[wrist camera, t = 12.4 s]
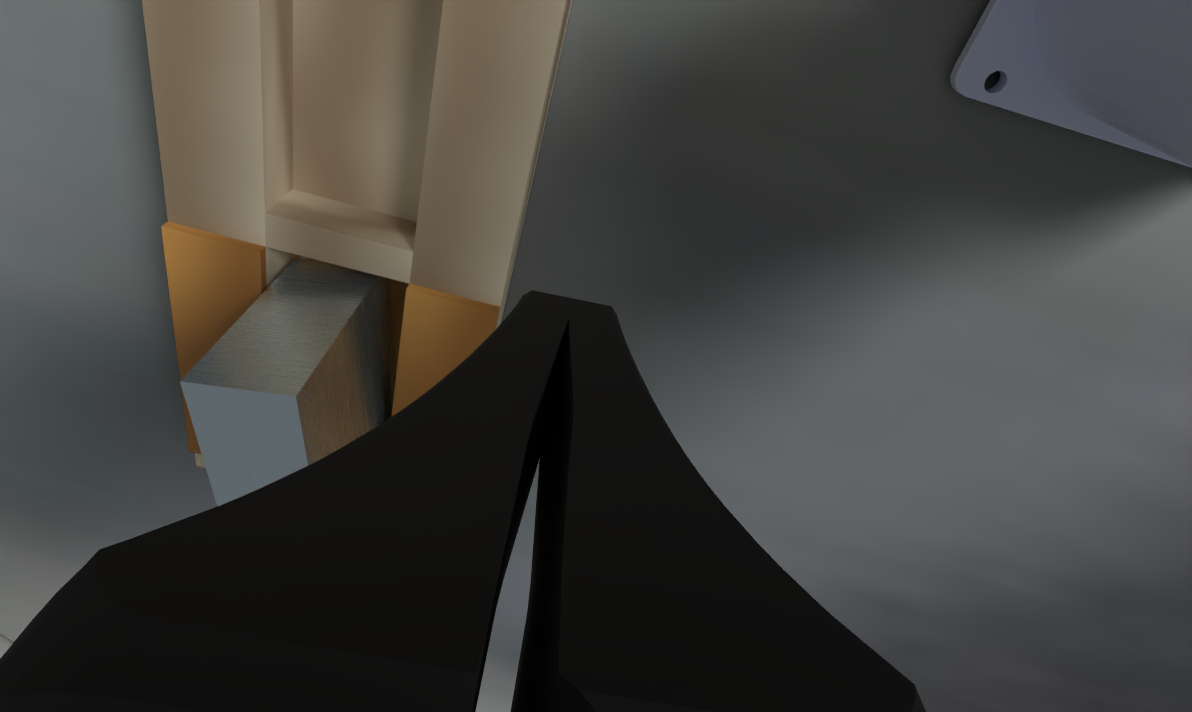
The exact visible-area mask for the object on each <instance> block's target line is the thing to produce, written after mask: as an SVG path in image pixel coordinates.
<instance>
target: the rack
mask: <svg viewBox="0 0 1192 712" xmlns="http://www.w3.org/2000/svg"><path fill="white" fill-rule="evenodd" d="M572 1H573V0H142V6H143V14H144V23H145V31H146V40H147V48H148V57H149V65H150V74H151V82H152V91H153V100H154V108H155V117H156V125H157V134H158V142H159V151H160V159H161V168H162V176H163V185H164V193H165V202H166V210H167V219H168V222H167V223H165V224H164V225H162V226H161V229H162V237H163V246H164V254H165V262H166V270H167V278H168V286H169V294H170V302H171V310H172V318H173V326H174V334H175V342H176V350H177V358H178V366H179V375H180V381H181V380H182V379H183V377H184V376H185V375H186V374H187V373H188V372H189V371H190V370H191V369H192V368H193V367H194V366H195V365H196V364H197V363H198V362H199V360H200V359H201V358H202V357H203V356H204V355H205V354H206V353H207V352H208V351H209V350H210V349H211V348H212V347H213V346H214V345H215V343H216V342H217V341H218V340H219V339H220V338H221V337H222V336H223V335H224V334H225V333H226V332H227V331H228V330H229V329H230V328H231V326H232V325H233V324H234V323H235V322H236V321H237V320H238V319H239V318H240V317H241V316H242V315H243V314H244V313H245V312H246V311H247V309H248V308H249V307H250V306H251V305H252V304H253V303H254V302H255V301H256V300H257V299H258V298H259V297H260V296H261V295H262V294H263V292H264V291H265V290H266V289H267V288H268V287H269V286H270V285H271V284H272V283H273V282H274V281H275V280H276V279H277V278H278V277H279V275H280V274H281V273H282V272H283V271H284V270H285V269H286V268H287V267H288V266H289V265H290V264H291V263H292V262H293V261H294V260H295V258H296V257H297V256H298V255H300V256H304V257H308V258H312V259H315V260H319V261H323V262H327V263H331V264H335V265H339V266H343V267H347V268H351V269H354V270H358V271H362V272H366V273H370V274H374V275H378V276H382V277H386V278H390V284H391V301H392V317H393V334H394V350H395V366H396V382H395V391H394V399H393V408H392V416H393V415H395V414H396V413H398V412H399V411H401V410H402V409H404V408H405V407H407V406H408V405H409V404H411V403H412V402H414V401H415V400H416V399H418V398H419V397H420V396H422V395H423V394H424V393H426V392H427V391H428V390H430V389H431V388H432V387H433V386H435V385H436V384H437V383H438V382H439V381H440V380H442V379H443V378H444V377H445V376H446V375H448V374H449V373H450V372H451V371H452V370H454V369H455V368H456V367H457V366H458V365H459V364H461V363H462V362H463V361H464V360H465V359H466V358H467V357H469V356H470V355H471V354H472V353H473V352H474V351H475V350H476V349H477V348H478V347H479V346H480V345H481V344H482V343H483V342H484V341H485V340H486V339H487V338H488V337H489V336H490V335H491V334H492V333H493V332H494V331H495V330H496V329H497V328H498V327H499V325H500V324H501V323H502V319H503V314H504V309H505V305H506V300H507V296H508V291H509V287H510V282H511V278H512V273H513V269H514V264H515V260H516V255H517V251H518V246H519V242H520V237H521V232H522V228H523V223H524V219H525V214H526V210H527V205H528V201H529V196H530V192H531V187H532V183H533V178H534V174H535V169H536V164H537V160H538V155H539V151H540V146H541V142H542V137H543V133H544V128H545V124H546V119H547V115H548V110H549V106H550V101H551V96H552V92H553V87H554V83H555V78H556V74H557V69H558V65H559V60H560V56H561V51H562V47H563V42H564V38H565V33H566V28H567V24H568V19H569V15H570V10H571V6H572ZM181 391H182V399H183V407H184V415H185V423H186V431H187V439H188V447H189V452H193V453H195V458H196V466H199V467H203V468H206V467H205V464H204V460H203V457H202V454H201V450H200V447H199V444H198V440H197V437H196V433H195V430H194V427H193V423H192V420H191V417H190V413H189V410H188V407H187V403H186V400H185V397H184V393H183V390H182V387H181ZM392 416H391V417H392Z"/></svg>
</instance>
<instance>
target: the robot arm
mask: <svg viewBox="0 0 1192 712" xmlns="http://www.w3.org/2000/svg"><path fill="white" fill-rule="evenodd" d="M996 71H1000V79H999V82H998V83H997V84H996V85H995V86H994V87H992V88H990V89H988V90H985V87H984V84H985V80H986V78H987V77H988V76H989V75H990V74H991V73H993V72H996ZM950 79H951V85H952V87H953V89H954V90H955V91H957V92H958V93H960V94H962V95H963V96H965V97H968V98H971V99H974V100H978V101H981V102H984V103H987V104H990V105H994V106H997V107H1000V108H1003V109H1006V110H1009V111H1013V112H1016V113H1019V114H1022V115H1025V116H1029V117H1032V118H1035V119H1038V120H1041V121H1044V122H1048V123H1051V124H1054V125H1057V126H1060V127H1064V128H1067V129H1070V130H1073V131H1076V132H1079V133H1083V134H1086V135H1089V136H1092V137H1095V138H1099V139H1102V140H1105V141H1108V142H1111V143H1115V144H1118V145H1121V146H1124V147H1127V148H1130V149H1134V150H1137V151H1140V152H1143V153H1146V154H1150V155H1153V156H1156V157H1159V158H1162V159H1165V160H1169V161H1172V162H1175V163H1178V164H1181V165H1185V166H1188V167H1191V168H1192V0H990V1H989V3H988V5H987V7H986V9H985V11H984V12H983V14H982V16H981V18H980V20H979V22H978V23H977V25H976V27H975V29H974V31H973V32H972V34H971V36H970V38H969V40H968V42H967V43H966V45H965V47H964V49H963V51H962V53H961V54H960V56H959V58H958V60H957V62H956V63H955V65H954V67H953V70H952V73H951V75H950ZM539 458H540V462H539V475H538V489H537V502H536V516H535V530H534V544H533V558H532V572H531V585H530V594H529V602H528V611H527V618H526V624H525V630H524V636H523V642H522V648H521V654H520V660H519V666H518V672H517V678H516V684H515V690H514V695H513V701H512V707H511V712H926V711H925V708H924V706H923V704H922V701H921V699H920V697H919V694H918V692H917V690H916V687H915V685H914V684H913V683H912V682H911V681H910V680H908V679H907V678H906V677H905V676H904V675H902V674H901V673H900V672H899V671H898V670H896V669H895V668H894V667H893V666H892V665H890V664H889V663H888V662H887V661H886V660H884V659H883V658H882V657H881V656H880V655H878V654H877V653H876V652H875V651H874V650H873V649H871V648H870V647H869V646H868V645H867V644H865V643H864V642H863V641H862V640H861V639H859V638H858V637H857V636H856V635H855V634H853V633H852V632H851V631H850V630H849V629H847V628H846V627H845V626H844V625H843V624H841V623H840V622H839V621H838V620H837V619H835V618H834V617H833V616H832V615H831V614H830V613H829V612H828V611H826V610H825V609H824V608H823V607H822V606H821V605H820V604H819V603H818V602H817V601H816V600H815V599H814V598H813V597H811V596H810V595H809V594H808V593H807V592H806V591H805V590H804V589H803V588H802V587H801V586H800V585H799V584H798V583H797V582H796V581H795V580H794V579H793V578H792V577H791V576H789V575H788V574H787V573H786V572H785V571H784V570H783V569H782V568H781V567H780V566H779V565H778V564H777V563H776V562H775V561H774V560H773V559H772V558H771V556H770V555H769V554H768V553H767V552H766V551H765V550H764V549H763V548H762V547H761V546H760V545H759V544H758V543H757V542H756V541H755V540H754V539H753V537H752V536H751V535H750V534H749V533H748V532H747V531H746V530H745V528H744V527H743V526H742V525H741V524H740V523H739V522H738V521H737V519H736V518H735V517H734V516H733V515H732V514H731V513H730V512H729V510H728V509H727V508H726V507H725V506H724V505H723V503H722V502H721V501H720V500H719V498H718V497H717V496H716V495H715V494H714V492H713V491H712V490H711V489H710V487H709V486H708V485H707V483H706V482H705V481H704V479H703V478H702V477H701V475H700V474H699V473H698V471H697V470H696V468H695V467H694V466H693V464H692V463H691V461H690V460H689V458H688V457H687V456H686V454H685V453H684V451H683V450H682V448H681V446H680V445H679V443H678V442H677V440H676V439H675V437H674V435H673V434H672V432H671V430H670V429H669V427H668V425H667V424H666V422H665V420H664V419H663V417H662V415H661V413H660V412H659V410H658V408H657V406H656V404H655V402H654V401H653V399H652V397H651V395H650V393H649V391H648V389H647V387H646V385H645V383H644V381H643V379H642V377H641V375H640V373H639V371H638V369H637V366H636V364H635V362H634V360H633V358H632V355H631V353H630V350H629V348H628V346H627V343H626V341H625V338H624V336H623V333H622V330H621V327H620V324H619V321H618V318H617V314H616V313H615V311H614V310H613V308H612V307H611V306H607V305H602V304H597V303H592V302H587V301H582V300H577V299H572V298H567V297H562V296H557V295H552V294H547V293H542V292H538V291H533V290H532V291H530V292H528V293H526V294H525V295H523V297H522V298H521V300H520V301H519V303H518V304H517V305H516V307H515V308H514V309H513V310H512V312H511V313H510V314H509V315H508V316H507V318H506V319H505V320H504V321H503V322H502V323H501V324H500V325H499V327H498V328H497V329H496V330H495V331H494V332H493V333H492V334H491V335H490V336H489V337H488V338H487V339H486V340H485V341H484V342H483V343H482V344H481V345H480V346H479V347H478V348H477V349H476V350H475V351H474V352H473V353H472V354H471V355H470V356H469V357H467V358H466V359H465V360H464V361H463V362H462V363H461V364H459V365H458V366H457V367H456V368H455V369H454V370H452V371H451V372H450V373H449V374H448V375H446V376H445V377H444V378H443V379H442V380H440V381H439V382H438V383H437V384H436V385H435V386H433V387H432V388H431V389H430V390H428V391H427V392H426V393H424V394H423V395H422V396H420V397H419V398H418V399H416V400H415V401H414V402H412V403H411V404H409V405H408V406H407V407H405V408H404V409H402V410H401V411H399V412H398V413H396V414H395V415H393V416H392V417H390V418H389V419H387V420H386V421H385V422H383V423H381V424H380V425H378V426H377V427H375V428H373V429H372V430H370V431H368V432H367V433H365V434H363V435H362V436H360V437H358V438H357V439H355V440H353V441H352V442H350V443H348V444H347V445H345V446H343V447H342V448H340V449H338V450H336V451H334V452H333V453H331V454H329V455H327V456H325V457H324V458H322V459H320V460H318V461H316V462H314V463H312V464H310V465H308V466H306V467H304V468H302V469H300V470H298V471H296V472H294V473H292V474H289V475H287V476H285V477H283V478H281V479H279V480H277V481H275V482H273V483H270V484H268V485H266V486H264V487H262V488H260V489H257V490H255V491H253V492H251V493H248V494H246V495H244V496H242V497H239V498H237V499H234V500H232V501H230V502H227V503H225V504H222V505H220V506H217V507H215V508H213V509H210V510H207V511H204V512H202V513H199V514H196V515H194V516H191V517H188V518H186V519H183V520H180V521H178V522H175V523H172V524H169V525H167V526H164V527H161V528H159V529H156V530H153V531H151V532H148V533H145V534H143V535H140V536H137V537H134V538H132V539H129V540H126V541H123V542H120V543H117V544H114V545H112V546H109V547H106V548H103V549H100V550H99V551H98V552H97V553H96V554H95V555H94V556H93V557H92V558H91V559H90V560H89V561H88V562H87V564H86V565H85V566H84V567H83V568H82V569H81V570H80V571H79V572H77V573H76V574H75V575H74V576H73V577H72V578H71V579H70V580H69V581H68V582H67V583H66V584H65V585H64V586H63V587H62V588H61V589H60V590H59V591H58V592H57V593H56V594H55V595H54V596H53V597H52V599H51V600H50V601H49V602H48V603H47V604H46V605H45V606H44V607H43V609H42V610H41V611H40V612H39V613H38V614H37V615H36V616H35V618H34V619H33V620H32V621H31V622H30V623H29V625H28V626H27V627H26V628H25V629H24V631H23V632H22V633H21V634H20V635H19V637H18V638H17V639H16V640H15V641H14V643H13V644H12V645H11V646H10V647H9V649H8V650H7V651H6V652H5V654H4V655H3V656H2V657H1V658H0V712H475V711H476V706H477V701H478V696H479V691H480V686H481V681H482V676H483V671H484V666H485V661H486V656H487V651H488V646H489V641H490V636H491V631H492V626H493V621H494V616H495V611H496V607H497V603H498V599H499V595H500V591H501V587H502V583H503V579H504V576H505V572H506V569H507V566H508V562H509V559H510V555H511V552H512V549H513V545H514V542H515V539H516V535H517V532H518V529H519V525H520V522H521V519H522V515H523V512H524V509H525V505H526V502H527V498H528V495H529V492H530V488H531V485H532V482H533V478H534V475H535V472H536V468H537V465H538V461H539Z"/></svg>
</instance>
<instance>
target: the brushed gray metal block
mask: <svg viewBox="0 0 1192 712" xmlns="http://www.w3.org/2000/svg"><path fill="white" fill-rule="evenodd" d="M395 382H396V366H395V350H394V334H393V317H392V301H391V284H390V278H386V277H382V276H378V275H374V274H370V273H366V272H362V271H358V270H354V269H351V268H347V267H343V266H339V265H335V264H331V263H327V262H323V261H319V260H315V259H312V258H308V257H304V256H300V255H298V256H297V257H296V258H295V260H294V261H293V262H292V263H291V264H290V265H289V266H288V267H287V268H286V269H285V270H284V271H283V272H282V273H281V274H280V275H279V277H278V278H277V279H276V280H275V281H274V282H273V283H272V284H271V285H270V286H269V287H268V288H267V289H266V290H265V291H264V292H263V294H262V295H261V296H260V297H259V298H258V299H257V300H256V301H255V302H254V303H253V304H252V305H251V306H250V307H249V308H248V309H247V311H246V312H245V313H244V314H243V315H242V316H241V317H240V318H239V319H238V320H237V321H236V322H235V323H234V324H233V325H232V326H231V328H230V329H229V330H228V331H227V332H226V333H225V334H224V335H223V336H222V337H221V338H220V339H219V340H218V341H217V342H216V343H215V345H214V346H213V347H212V348H211V349H210V350H209V351H208V352H207V353H206V354H205V355H204V356H203V357H202V358H201V359H200V360H199V362H198V363H197V364H196V365H195V366H194V367H193V368H192V369H191V370H190V371H189V372H188V373H187V374H186V375H185V376H184V377H183V379H182V380H181V381H180V383H181V387H182V390H183V393H184V397H185V400H186V403H187V407H188V410H189V413H190V417H191V420H192V423H193V427H194V430H195V433H196V437H197V440H198V444H199V447H200V450H201V454H202V457H203V460H204V464H205V467H206V470H207V474H208V477H209V480H210V484H211V487H212V490H213V494H214V497H215V500H216V504H217V506H220V505H222V504H225V503H227V502H230V501H232V500H234V499H237V498H239V497H242V496H244V495H246V494H248V493H251V492H253V491H255V490H257V489H260V488H262V487H264V486H266V485H268V484H270V483H273V482H275V481H277V480H279V479H281V478H283V477H285V476H287V475H289V474H292V473H294V472H296V471H298V470H300V469H302V468H304V467H306V466H308V465H310V464H312V463H314V462H316V461H318V460H320V459H322V458H324V457H325V456H327V455H329V454H331V453H333V452H334V451H336V450H338V449H340V448H342V447H343V446H345V445H347V444H348V443H350V442H352V441H353V440H355V439H357V438H358V437H360V436H362V435H363V434H365V433H367V432H368V431H370V430H372V429H373V428H375V427H377V426H378V425H380V424H381V423H383V422H385V421H386V420H387V419H389V418H390V417H391V416H392V408H393V399H394V391H395Z"/></svg>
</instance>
